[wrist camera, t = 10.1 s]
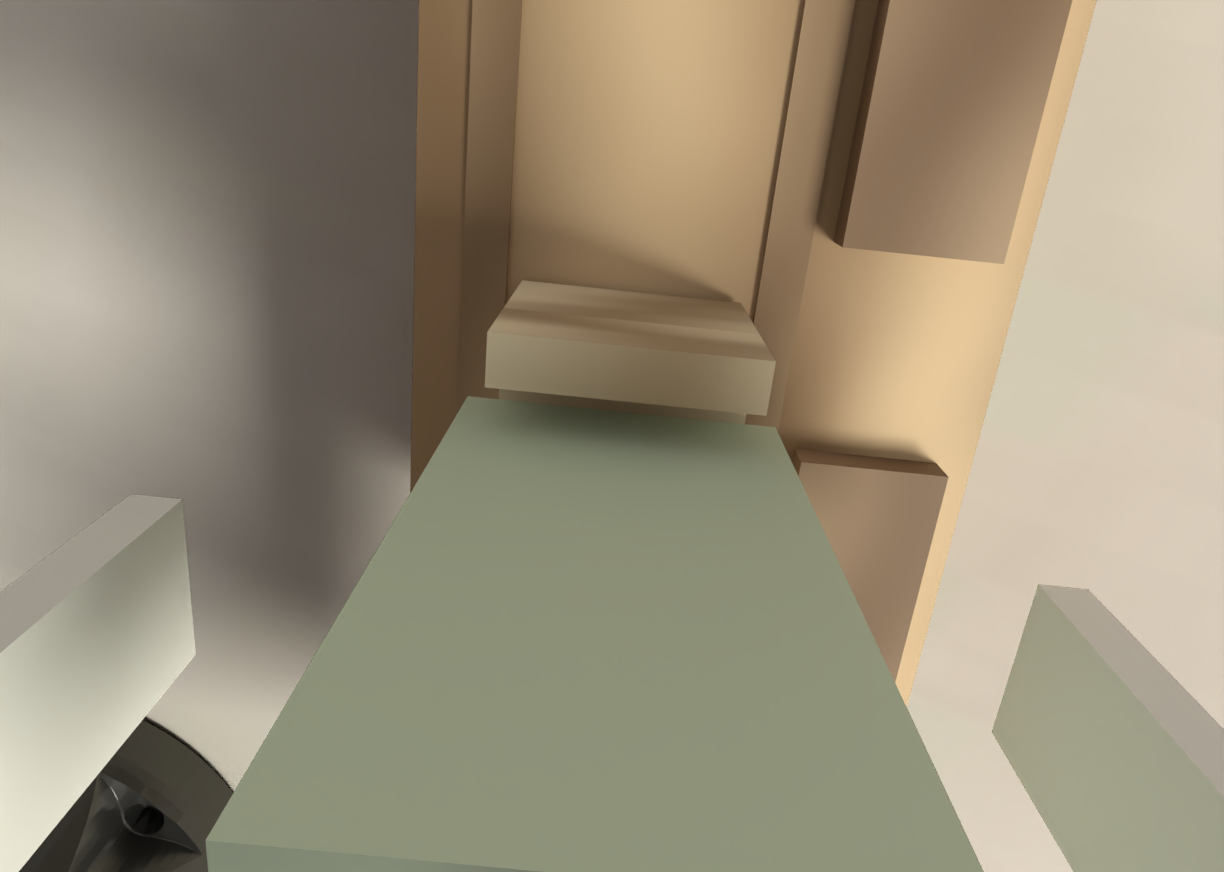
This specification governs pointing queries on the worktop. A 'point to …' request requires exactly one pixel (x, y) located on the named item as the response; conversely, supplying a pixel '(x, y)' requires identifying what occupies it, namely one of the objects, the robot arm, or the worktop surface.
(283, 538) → the worktop surface
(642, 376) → the beige piece
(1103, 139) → the worktop surface
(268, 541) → the worktop surface
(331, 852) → the block
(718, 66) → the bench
